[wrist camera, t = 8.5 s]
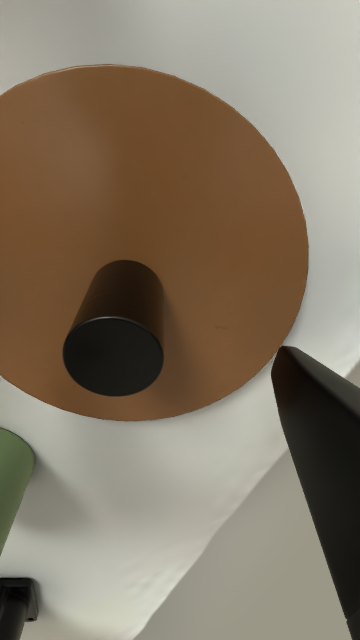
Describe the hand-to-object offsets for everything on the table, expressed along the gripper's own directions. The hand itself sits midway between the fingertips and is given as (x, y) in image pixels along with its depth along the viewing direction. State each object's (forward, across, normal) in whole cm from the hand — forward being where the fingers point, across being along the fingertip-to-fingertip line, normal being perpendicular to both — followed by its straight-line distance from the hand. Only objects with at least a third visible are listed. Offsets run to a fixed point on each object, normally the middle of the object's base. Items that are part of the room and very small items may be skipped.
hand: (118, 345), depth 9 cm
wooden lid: (+4, 0, 0) cm, 4 cm away
